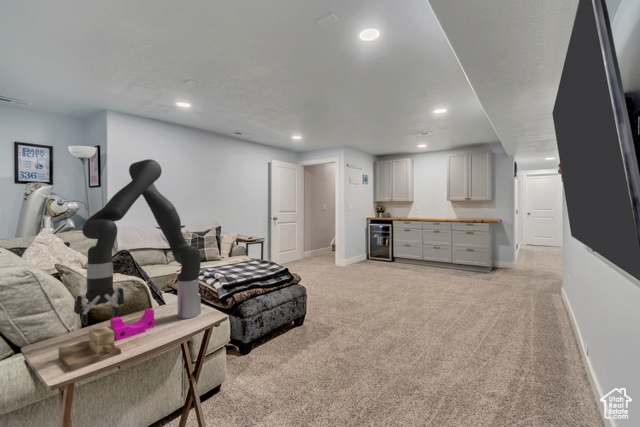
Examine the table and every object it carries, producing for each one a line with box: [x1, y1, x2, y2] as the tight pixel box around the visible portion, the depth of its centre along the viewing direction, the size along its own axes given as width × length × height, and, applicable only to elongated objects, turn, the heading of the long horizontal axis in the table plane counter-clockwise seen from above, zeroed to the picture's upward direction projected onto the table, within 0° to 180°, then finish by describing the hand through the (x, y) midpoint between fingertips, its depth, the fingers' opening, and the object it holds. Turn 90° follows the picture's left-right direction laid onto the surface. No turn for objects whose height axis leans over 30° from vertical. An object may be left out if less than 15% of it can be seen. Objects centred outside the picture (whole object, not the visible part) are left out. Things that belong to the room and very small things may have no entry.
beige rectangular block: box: [88, 325, 115, 354], centre depth 105 cm, size 5×11×6 cm, turn 54°
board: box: [58, 338, 122, 372], centre depth 103 cm, size 14×13×4 cm
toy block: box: [109, 308, 155, 342], centre depth 123 cm, size 15×6×8 cm, turn 144°
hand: (100, 320), depth 106 cm, fingers open, 8 cm apart
